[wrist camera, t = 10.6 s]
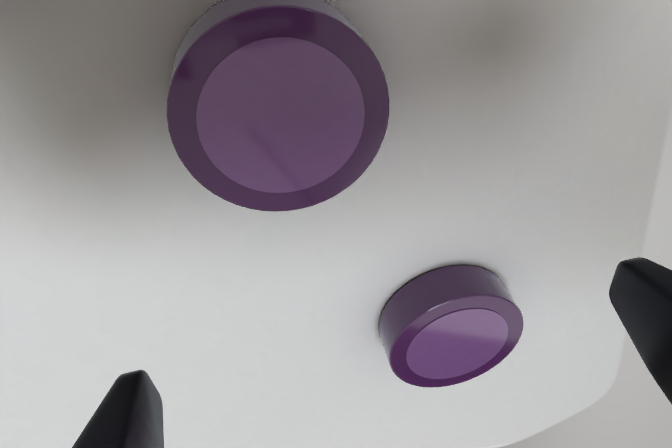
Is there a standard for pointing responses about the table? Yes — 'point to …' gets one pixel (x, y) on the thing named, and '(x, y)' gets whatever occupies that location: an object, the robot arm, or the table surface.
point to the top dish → (276, 103)
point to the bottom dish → (449, 326)
